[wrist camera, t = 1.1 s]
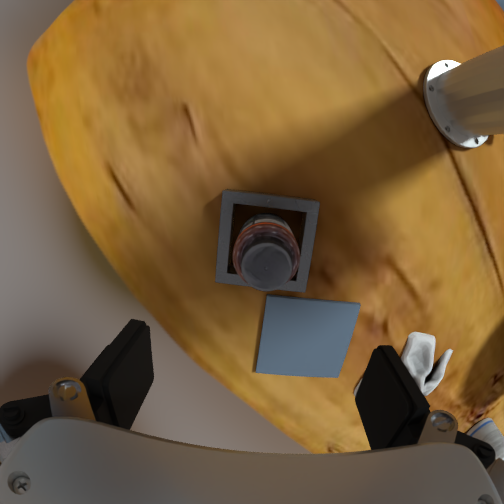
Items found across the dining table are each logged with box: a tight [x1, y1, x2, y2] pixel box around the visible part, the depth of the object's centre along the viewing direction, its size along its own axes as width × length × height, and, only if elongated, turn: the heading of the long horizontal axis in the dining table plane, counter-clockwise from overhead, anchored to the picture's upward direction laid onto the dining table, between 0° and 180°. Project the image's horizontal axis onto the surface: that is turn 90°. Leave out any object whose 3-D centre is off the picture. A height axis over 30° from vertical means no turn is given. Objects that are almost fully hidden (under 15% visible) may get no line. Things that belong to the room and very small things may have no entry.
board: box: [256, 294, 361, 378], centre depth 36 cm, size 12×12×1 cm
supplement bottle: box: [233, 213, 300, 291], centre depth 27 cm, size 6×6×11 cm
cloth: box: [354, 332, 453, 396], centre depth 36 cm, size 22×19×6 cm
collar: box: [215, 189, 320, 292], centre depth 31 cm, size 10×10×3 cm
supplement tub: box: [467, 418, 504, 460], centre depth 36 cm, size 10×10×15 cm
